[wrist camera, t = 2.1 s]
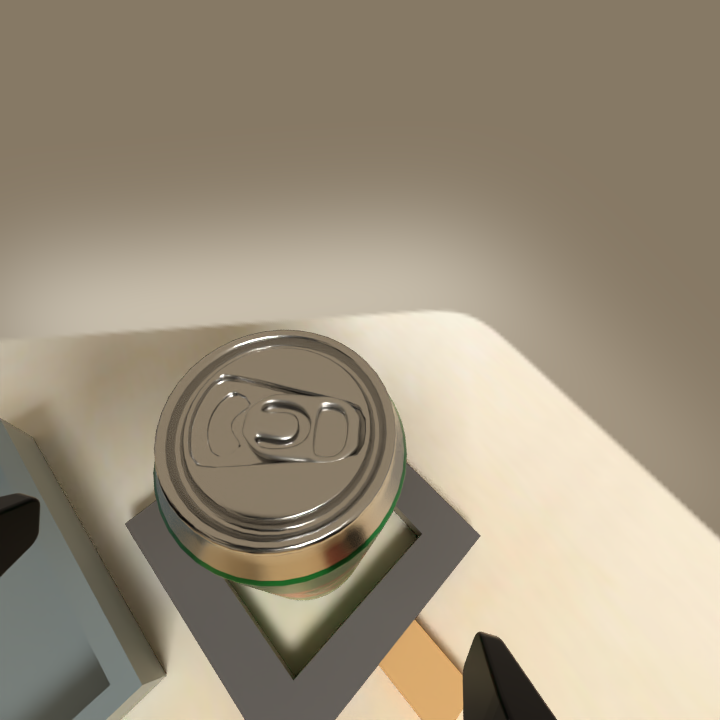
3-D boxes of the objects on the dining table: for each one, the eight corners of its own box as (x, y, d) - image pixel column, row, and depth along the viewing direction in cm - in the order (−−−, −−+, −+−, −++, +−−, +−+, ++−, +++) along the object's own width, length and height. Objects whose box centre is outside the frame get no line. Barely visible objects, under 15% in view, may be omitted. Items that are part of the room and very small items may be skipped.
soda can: (261, 471, 18) (182, 303, 8) (367, 480, 19) (415, 325, 8) (236, 595, 16) (72, 569, 6) (361, 605, 16) (420, 595, 6)
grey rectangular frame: (347, 873, 12) (348, 889, 11) (101, 476, 18) (92, 470, 17) (530, 594, 16) (539, 594, 16) (286, 350, 22) (284, 342, 22)
